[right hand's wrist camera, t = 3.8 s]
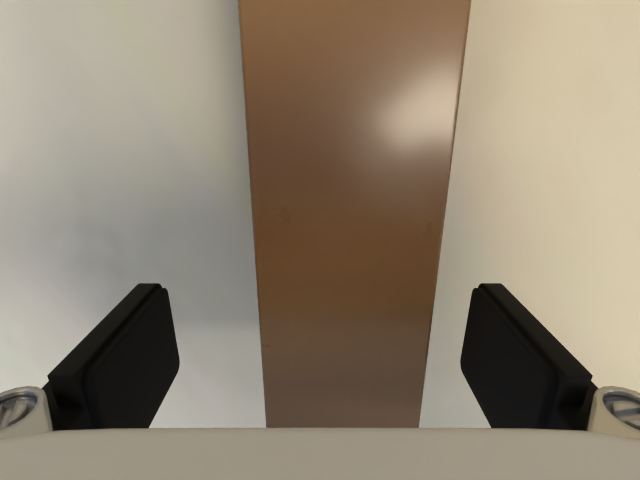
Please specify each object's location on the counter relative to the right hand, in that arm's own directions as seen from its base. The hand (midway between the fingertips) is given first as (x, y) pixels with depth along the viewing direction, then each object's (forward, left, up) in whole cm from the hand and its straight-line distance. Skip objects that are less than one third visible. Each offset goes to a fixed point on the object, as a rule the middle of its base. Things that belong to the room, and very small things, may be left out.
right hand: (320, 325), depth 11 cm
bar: (-8, -22, -7) cm, 24 cm away
